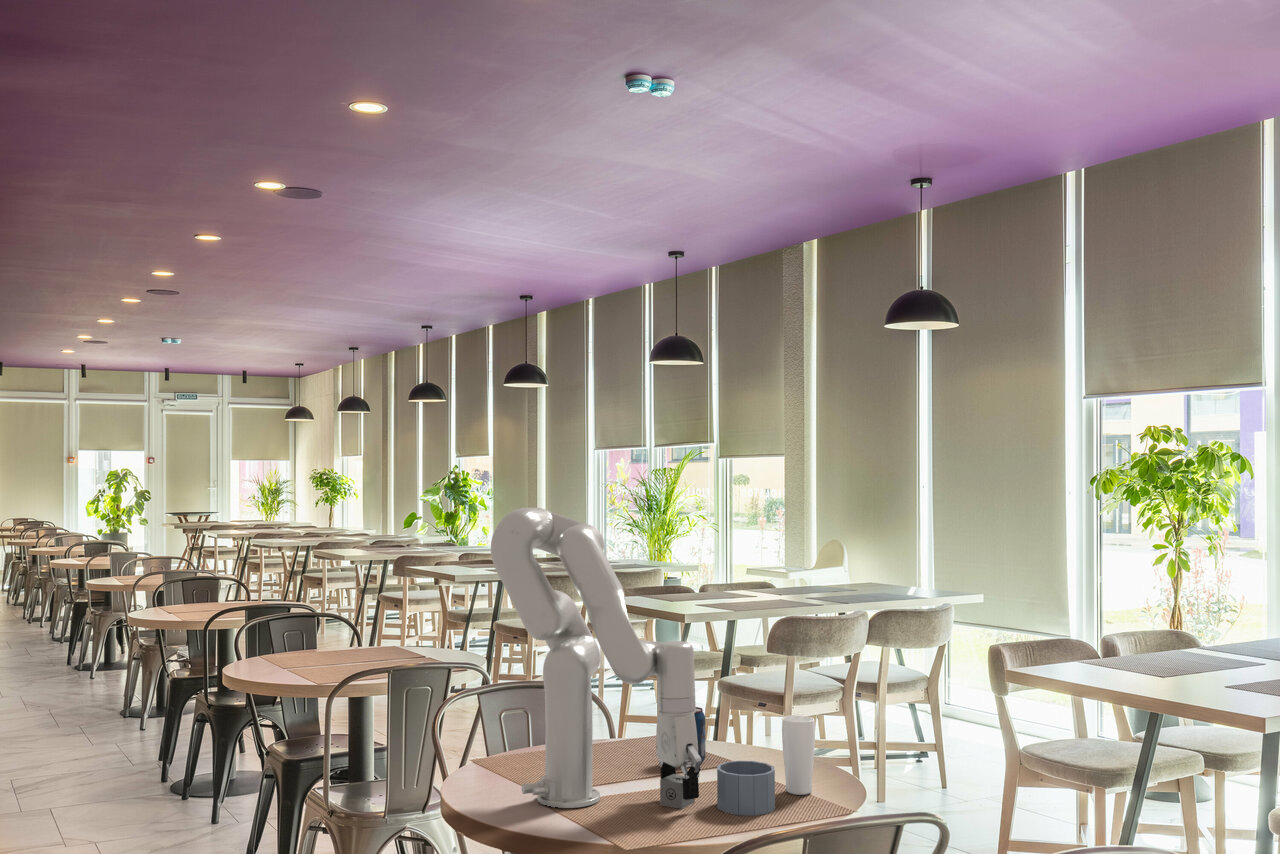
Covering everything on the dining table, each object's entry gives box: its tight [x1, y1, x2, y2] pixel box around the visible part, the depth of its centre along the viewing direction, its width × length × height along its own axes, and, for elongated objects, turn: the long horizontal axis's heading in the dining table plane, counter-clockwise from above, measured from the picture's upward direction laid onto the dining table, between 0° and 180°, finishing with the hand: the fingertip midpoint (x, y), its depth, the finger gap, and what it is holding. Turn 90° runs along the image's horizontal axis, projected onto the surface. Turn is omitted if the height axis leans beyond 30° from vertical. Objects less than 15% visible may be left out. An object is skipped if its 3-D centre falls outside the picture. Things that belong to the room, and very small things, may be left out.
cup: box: [716, 760, 776, 817], centre depth 208 cm, size 11×11×8 cm
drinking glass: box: [781, 714, 816, 796], centre depth 218 cm, size 7×7×15 cm
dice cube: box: [659, 773, 696, 810], centre depth 210 cm, size 5×5×5 cm
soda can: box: [694, 706, 707, 764], centre depth 242 cm, size 7×7×12 cm
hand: (679, 792), depth 209 cm, fingers open, 9 cm apart
